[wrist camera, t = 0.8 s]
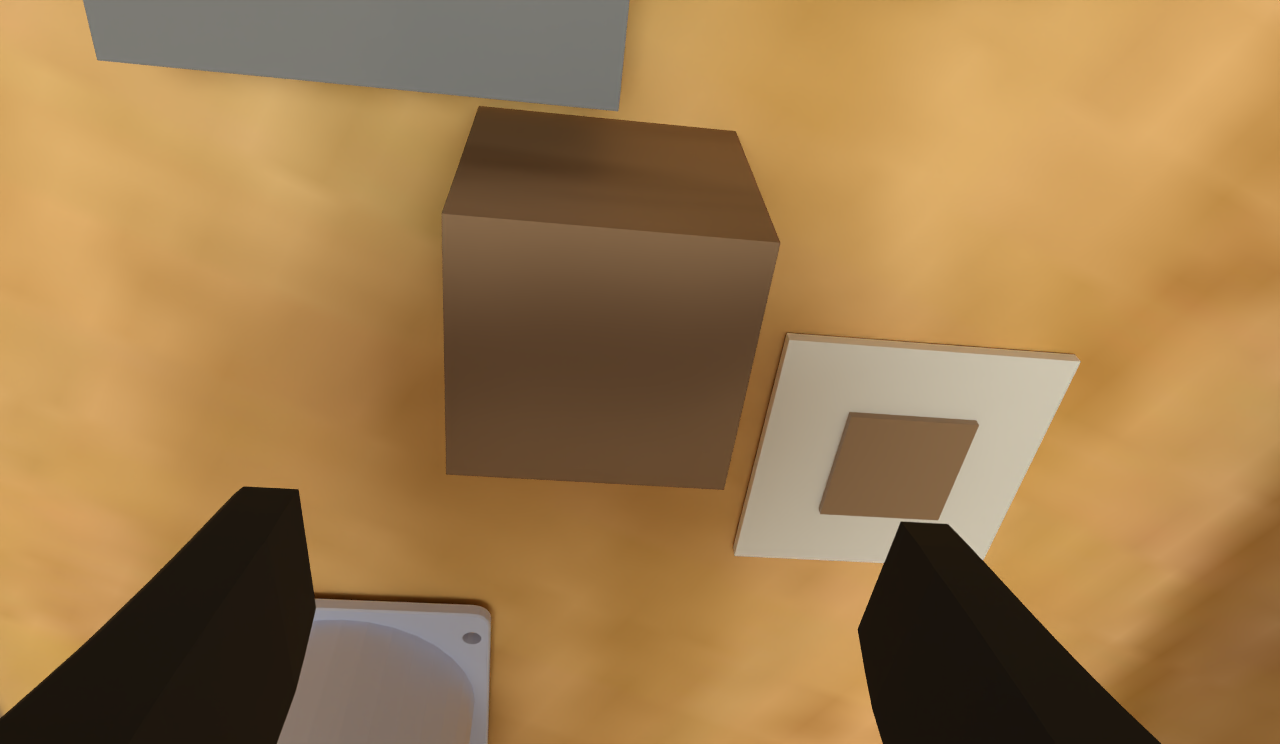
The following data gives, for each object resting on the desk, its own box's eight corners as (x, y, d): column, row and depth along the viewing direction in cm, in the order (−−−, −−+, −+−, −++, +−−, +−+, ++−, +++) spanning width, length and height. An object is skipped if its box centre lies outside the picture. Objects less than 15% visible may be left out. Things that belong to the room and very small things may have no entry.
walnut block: (696, 342, 20) (723, 489, 16) (477, 325, 19) (446, 474, 15) (735, 129, 17) (779, 242, 13) (479, 104, 16) (441, 213, 12)
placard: (975, 559, 24) (982, 572, 24) (732, 547, 24) (735, 561, 23) (1074, 354, 20) (1084, 366, 20) (786, 333, 20) (790, 344, 19)
